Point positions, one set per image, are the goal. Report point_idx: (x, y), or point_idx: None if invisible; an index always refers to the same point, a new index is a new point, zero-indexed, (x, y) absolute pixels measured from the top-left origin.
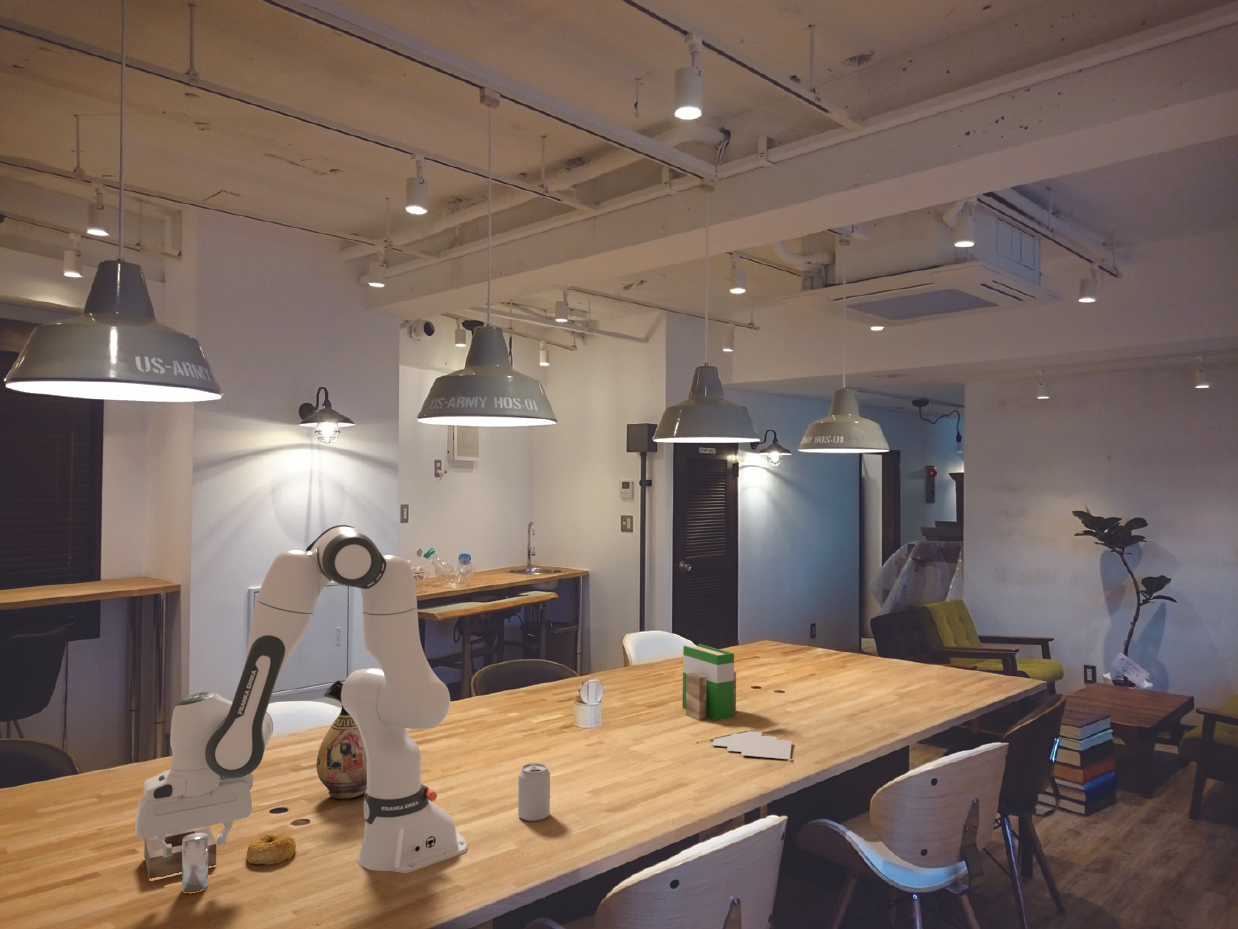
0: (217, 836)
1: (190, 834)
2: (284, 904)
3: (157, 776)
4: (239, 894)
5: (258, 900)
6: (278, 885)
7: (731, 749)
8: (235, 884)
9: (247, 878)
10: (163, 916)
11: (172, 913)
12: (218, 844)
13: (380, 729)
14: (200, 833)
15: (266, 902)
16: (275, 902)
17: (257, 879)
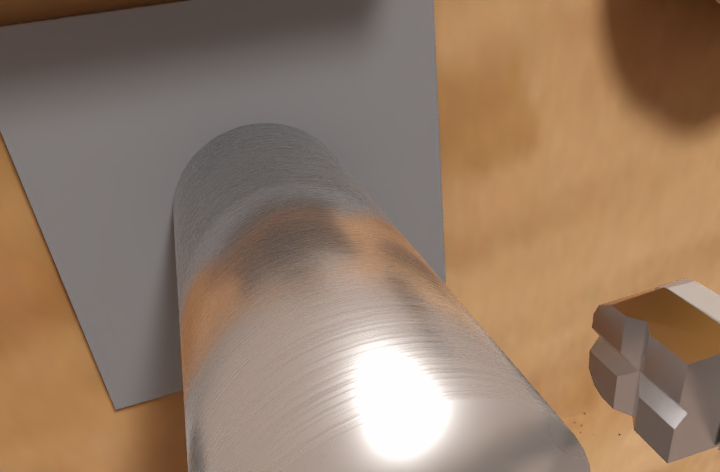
0: (667, 396)
1: (332, 451)
2: (635, 432)
3: None
4: (502, 309)
5: (563, 384)
6: (676, 266)
7: None
8: (504, 183)
9: (578, 124)
10: (106, 456)
11: (155, 434)
12: (603, 391)
13: None
14: (503, 434)
15: (586, 406)
16: (614, 412)
17: (619, 160)
